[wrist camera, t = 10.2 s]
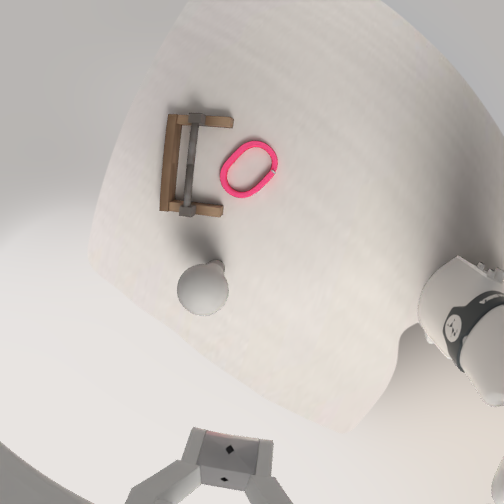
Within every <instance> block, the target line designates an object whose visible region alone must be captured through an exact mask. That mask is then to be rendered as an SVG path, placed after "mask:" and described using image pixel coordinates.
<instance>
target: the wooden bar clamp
mask: <svg viewBox="0 0 504 504" xmlns="http://www.w3.org/2000/svg"><path fill="white" fill-rule="evenodd" d="M233 121H234V119H232V118H231V117H220V116H206V115H204V114H202V113H189V115H177V114H168V120H167V127H166V136H165V145H164V155H163V166H162V178H161V192H160V210H159V211H167V212H168V211H174V212H179V216H185V217H192V216H194V215H195V214H198V215H206V216H213V217H220V216H221V215H223V206H222V205H214V204H206V203H198V202H191V194H192V182H193V172H194V162H195V153H196V144H197V135H198V127H199V126H210V127H224V128H233ZM182 125H190V126H191V132H190V141H189V149H188V159H187V169H186V179H185V191H184V201H180V200H175V191H176V179H177V167H178V157H179V148H180V139H181V130H182Z"/></svg>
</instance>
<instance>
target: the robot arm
mask: <svg viewBox="0 0 504 504" xmlns="http://www.w3.org/2000/svg"><path fill="white" fill-rule="evenodd" d="M484 268H485V265H484V264H483V263H482V262H479V263H478V265H477V266H476V265H474V264H472V263H470V262H468V261H466V260H465V259H463V258H462V257H460V256H458V255H457V256H456V257H455V258H454V259H452V260H451V261H449V262H448V263H446V264H445V265H443V266H442V267H441V268H439V269H438V270H437V271H436V272H435V273H434V274H433V275H432V276H431V277H430V279H429V280H428V281H427V283H426V285H425V286H424V288H423V290H422V293H421V295H420V298H419V302H418V318H419V321H420V322H418V323H419V325H420V326H421V327H422V328H423V330H424V334H425V339H426V341H427V342H428V343H429V344H435V345H436V346H437V347H438V348H439V349H440V350H441V352H442V353H443V354H444V355H445V356H446V357H447V358H448V359H451V358H452V361H453V362H454V364H455V365H456V366H457V367H458V368H459V369H460V370H461V371H462V372H464V373H466V375H467V377H468V378H469V380H470V381H471V383H472V384H473V386H474V387H475V389H476V391H477V392H478V394H479V395H480V397H481V399H482V400H483V402H484V403H485V404H487V405H489V406H493V407H499V406H504V281H503V280H504V271H502V270H501V269H499V268H496V269H495V271H493V270H491V269H489V270H488V272H487V271H485V270H484ZM272 457H273V440H263V439H258V438H249V437H241V436H235V435H228V434H223V433H218V432H213V431H208V430H205V429H199V428H195V427H193V428H192V430H191V433H190V436H189V438H188V441H187V444H186V448H185V451H184V453H183V456H182V459H181V461H180V460H176V461H175V462H173V463H172V464H170V465H169V466H167V467H166V468H164V469H163V470H161V471H160V472H158V473H156V474H155V475H153V476H152V477H150V478H148V479H147V480H145V481H143V482H141V483H140V484H138V485H136V486H135V487H133V488H132V489H131V491H130V493H129V496H128V499H127V500H126V502H125V504H178V503H179V502H180V501H182V500H183V499H184V498H185V497H187V496H188V495H189V494H190V493H192V492H193V491H194V490H195V489H196V488H198V487H199V486H200V485H201V484H206V485H211V486H217V487H223V488H228V489H234V490H240V491H245V493H246V495H247V497H248V499H249V501H250V503H251V504H293V503H292V502H291V500H290V499H289V497H288V496H287V494H286V493H285V492H284V490H283V489H282V487H281V486H280V484H279V483H278V481H277V480H276V478H275V477H271V469H272ZM492 497H493V500H494V502H495V504H504V457H503V459H502V461H501V463H500V465H499V467H498V469H497V471H496V474H495V476H494V479H493V482H492ZM0 504H94V503H92V502H90V501H88V500H86V499H84V498H82V497H80V496H78V495H76V494H75V493H73V492H71V491H69V490H68V489H66V488H64V487H62V486H61V485H59V484H57V483H56V482H54V481H53V480H51V479H49V478H48V477H46V476H45V475H43V474H42V473H40V472H39V471H38V470H36V469H35V468H33V467H32V466H31V465H29V464H28V463H26V462H25V461H24V460H22V459H21V458H20V457H18V456H17V455H16V454H15V453H13V452H12V451H11V450H10V449H8V448H7V447H6V446H5V445H4V444H3V443H1V442H0Z"/></svg>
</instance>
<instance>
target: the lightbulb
mask: <svg viewBox="0 0 504 504" xmlns="http://www.w3.org/2000/svg"><path fill="white" fill-rule="evenodd" d="M224 271H225V267H224V264H223V263H222V262H221V261H219V260H212V261H210V262H209V263H208V264H206V265H205V264H199V265H195V266H192V267H190V268H188V269H187V270H186V271H185V272H184V273H183V274H182V275H181V277H180V279H179V281H178V286H177V294H178V298H179V301H180V302H181V304H182V306H183V307H184V308H185V309H186V310H187V311H189V312H190V313H192V314H195V315H199V316H208V315H212V314H214V313H216V312H217V311H219V310H220V309H221V308H222V307H223V306H224V304H225V303H226V301H227V298H228V293H229V289H228V283H227V280H226V278H225V276H224Z"/></svg>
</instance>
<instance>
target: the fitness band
mask: <svg viewBox="0 0 504 504" xmlns="http://www.w3.org/2000/svg"><path fill="white" fill-rule="evenodd" d="M252 147H260V148H263V149H264V150H266V151H267V152H268V154H269V155H270V157H271V159H272V166H271V169H270V171H269V173H268V174H267V175H266V176H265V177H264V178H263V179H262V180H261V181H260V182H259V183H258V184H257V185H256V186H255V187H254V188H252V189H251V190H249V191H246V192H238V191H236V190H234V189H232V188H231V187H230V185H229V184H228V181H227V172H228V169H229V168H230V166H231V165H232V164H233V163H234V162H235V161H236V160H237V159H238V158H239V156H240V155H241V154H242V153H243V152H245V151H246V150H247V149H249V148H252ZM277 165H278V160H277V156H276V154H275V152H274V151H273V149H272V148H271V147H270V146H269V145H267V144H266V143H263V142H261V141H250V142H247V143H245V144H243V145H242V146H240V147H239V148H238V149H237V150H236V151H235V152H234V153H233V154H232V155H231V156H230V157H229V158H228V159H227V161H226V162H225V163H224V165H223V166H222V169H221V172H220V181H221V184H222V186H223V188H224V189H225V191H226V192H227V193H229V194H230V195H232V196H234V197H238V198H245V197H249V196H251V195H252V196H253V195H254V194H256V193H257V192H258V191H259V190H260V189H261V188H262V187H263V186H264V185H265V184H266V183H267V182H268V181H269V180H270V179H271V178H272V177H273V176H274V175H275V173H276V169H277Z"/></svg>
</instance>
